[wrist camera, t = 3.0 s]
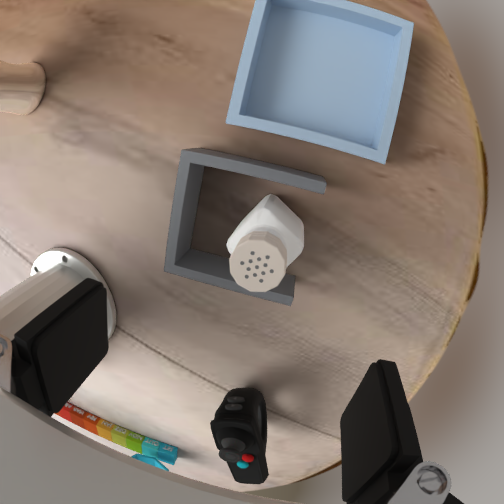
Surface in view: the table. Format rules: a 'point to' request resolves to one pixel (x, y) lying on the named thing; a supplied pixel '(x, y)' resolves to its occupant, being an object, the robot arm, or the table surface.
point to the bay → (184, 212)
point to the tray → (323, 74)
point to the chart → (122, 437)
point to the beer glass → (21, 87)
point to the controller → (242, 434)
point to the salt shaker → (265, 245)
